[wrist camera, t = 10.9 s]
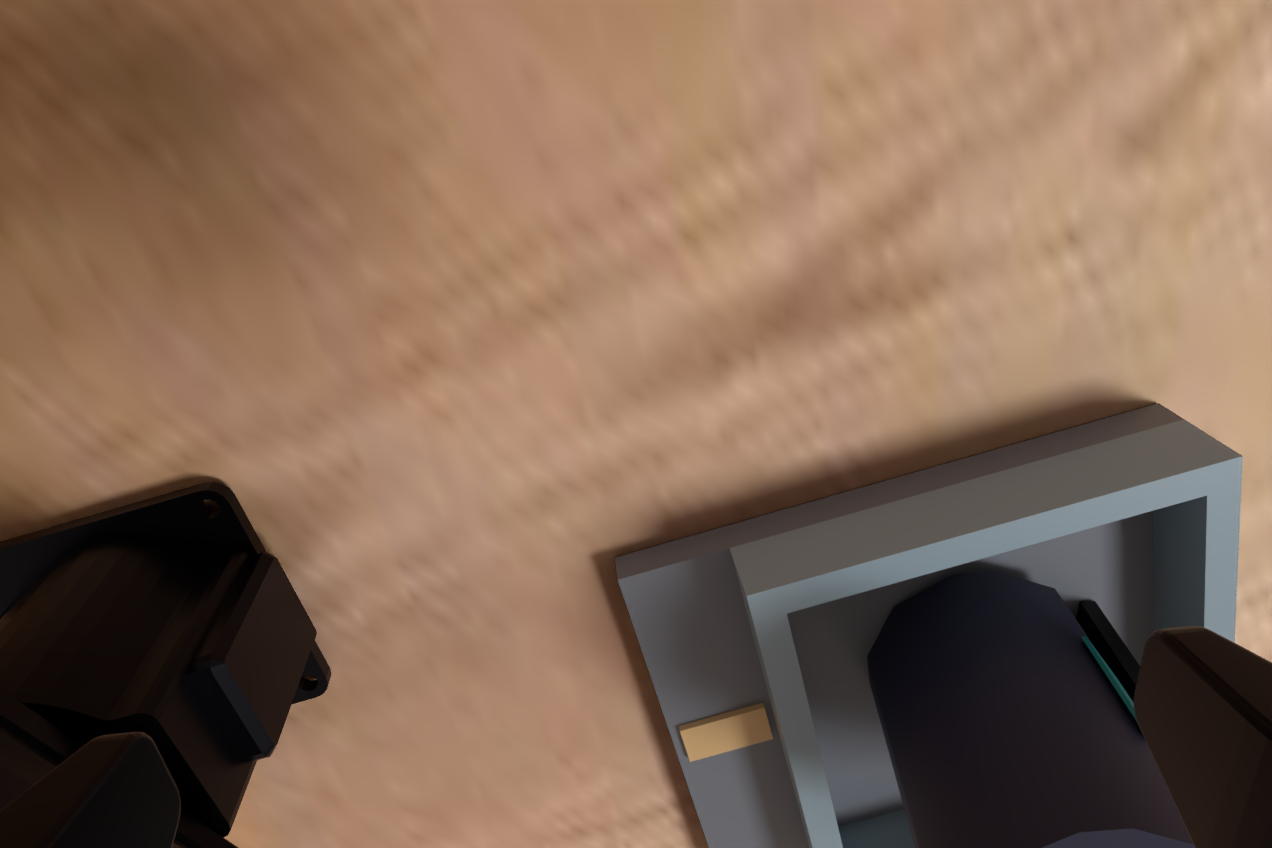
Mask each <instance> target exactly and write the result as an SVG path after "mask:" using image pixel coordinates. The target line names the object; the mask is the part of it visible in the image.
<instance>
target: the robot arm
mask: <svg viewBox="0 0 1272 848" xmlns="http://www.w3.org/2000/svg"><path fill="white" fill-rule="evenodd" d="M204 500H212V501H215V502H216V503H217V504H218V505H219V506H220V510H213V509H211V508H208V507H207V506H206V505H205V504H204ZM316 634H317V633H316V629H315V627H314V626H313V624H312V622H311V620H310V618H309V616H308V615H307V613H306V611H305V609H304V607H303V605H302V604H301V602H300V600H299V598H298V596H297V594H296V593H295V591H294V589H293V587H292V585H291V583H290V582H289V580H288V578H287V576H286V574H285V572H284V570H283V569H282V567H281V565H280V563H279V561H278V559H277V558H276V557H274V556H273V555H271V554H270V553H268V552H266V551H265V549H264V547H263V545H262V543H261V541H260V540H259V538H258V536H257V534H256V532H255V531H254V529H253V527H252V525H251V523H250V521H249V520H248V518H247V516H246V514H245V512H244V510H243V509H242V507H241V505H240V503H239V501H238V500H237V498H236V496H235V494H234V493H233V492H232V491H231V489H230V488H228V487H226V486H225V485H223V484H220V483H216V482H208V483H203V484H199V485H196V486H192V487H189V488H185V489H182V490H178V491H175V492H172V493H168V494H165V495H161V496H158V497H154V498H151V499H147V500H144V501H140V502H137V503H134V504H130V505H127V506H123V507H120V508H116V509H113V510H109V511H106V512H102V513H99V514H96V515H92V516H89V517H85V518H82V519H78V520H75V521H71V522H68V523H64V524H61V525H58V526H54V527H51V528H47V529H44V530H40V531H37V532H33V533H30V534H26V535H23V536H20V537H16V538H13V539H9V540H6V541H2V542H0V848H238V847H237V846H235V845H234V844H232V843H231V842H229V841H228V840H226V839H225V838H223V837H225V836H227V835H228V834H229V832H230V830H231V828H232V825H233V822H234V820H235V817H236V814H237V812H238V809H239V807H240V804H241V801H242V799H243V796H244V793H245V791H246V788H247V785H248V783H249V780H250V777H251V775H252V772H253V770H254V767H255V764H256V762H257V760H259V759H263V758H266V757H270V755H271V754H272V753H273V751H274V749H275V747H276V745H277V743H278V740H279V737H280V735H281V732H282V729H283V726H284V723H285V721H286V718H287V715H288V712H289V710H290V707H291V704H294V703H298V702H301V701H305V700H308V699H312V698H315V697H318V696H320V695H322V694H323V693H324V692H325V691H326V690H327V687H328V684H329V681H330V677H331V670H330V667H329V665H328V664H327V662H326V660H325V658H324V656H323V654H322V653H321V651H320V649H319V647H318V645H317V644H316V642H315V637H316ZM303 676H312V677H315V678H316V679H317V680H308V679H305V678H304V677H303ZM1133 700H1134V711H1135V716H1136V719H1137V722H1138V725H1139V727H1140V730H1141V732H1142V734H1143V736H1144V738H1145V741H1146V743H1147V745H1148V747H1149V749H1150V751H1151V753H1152V756H1153V758H1154V760H1155V762H1156V764H1157V766H1158V769H1159V771H1160V773H1161V775H1162V777H1163V779H1164V782H1165V784H1166V786H1167V788H1168V790H1169V792H1170V795H1171V797H1172V799H1173V801H1174V803H1175V805H1176V808H1177V810H1178V812H1179V814H1180V816H1181V818H1182V821H1183V823H1184V825H1185V827H1186V829H1187V831H1188V834H1189V836H1190V838H1191V840H1192V842H1193V844H1194V847H1195V848H1272V663H1271V662H1269V661H1268V660H1266V659H1264V658H1262V657H1260V656H1258V655H1256V654H1254V653H1253V652H1251V651H1249V650H1247V649H1245V648H1243V647H1241V646H1239V645H1238V644H1236V643H1234V642H1232V641H1230V640H1228V639H1226V638H1224V637H1222V636H1221V635H1219V634H1217V633H1215V632H1213V631H1211V630H1209V629H1207V628H1204V627H1200V626H1186V627H1176V628H1166V629H1158V630H1156V631H1153V632H1152V633H1151V634H1150V635H1149V636H1148V638H1147V640H1146V643H1145V647H1144V651H1143V656H1142V660H1141V665H1140V669H1139V674H1138V678H1137V683H1136V687H1135V692H1134V699H1133Z"/></svg>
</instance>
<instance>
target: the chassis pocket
mask: <svg viewBox="0 0 1272 848" xmlns="http://www.w3.org/2000/svg"><path fill="white" fill-rule="evenodd" d="M1242 458H1243V456H1241V455H1240V454H1238V453H1237V452H1235V451H1233V450H1232V449H1230V448H1229V447H1227V446H1226V445H1224V444H1222V443H1221V442H1219V441H1218V440H1216V439H1214V438H1213V437H1211V436H1210V435H1208V434H1207V433H1205V432H1203V431H1202V430H1200V429H1199V428H1197V427H1195V426H1194V425H1192V424H1191V423H1189V422H1187V421H1186V420H1184V419H1183V418H1181V417H1180V416H1178V415H1176V414H1175V413H1173V412H1172V411H1170V410H1168V409H1167V408H1165V407H1164V406H1162V405H1161V404H1159V403H1157V404H1154V405H1150V406H1147V407H1143V408H1140V409H1136V410H1132V411H1129V412H1125V413H1122V414H1118V415H1115V416H1111V417H1108V418H1104V419H1101V420H1097V421H1094V422H1090V423H1087V424H1083V425H1080V426H1076V427H1073V428H1069V429H1066V430H1062V431H1059V432H1055V433H1051V434H1048V435H1044V436H1041V437H1037V438H1034V439H1030V440H1027V441H1023V442H1020V443H1016V444H1013V445H1009V446H1006V447H1002V448H999V449H995V450H992V451H988V452H985V453H981V454H978V455H974V456H970V457H967V458H963V459H960V460H956V461H953V462H949V463H946V464H942V465H939V466H935V467H932V468H928V469H925V470H921V471H918V472H914V473H911V474H907V475H904V476H900V477H897V478H893V479H889V480H886V481H882V482H879V483H875V484H872V485H868V486H865V487H861V488H858V489H854V490H851V491H847V492H844V493H840V494H837V495H833V496H830V497H826V498H823V499H819V500H816V501H812V502H809V503H805V504H801V505H798V506H794V507H791V508H787V509H784V510H780V511H777V512H773V513H770V514H766V515H763V516H759V517H756V518H752V519H749V520H745V521H742V522H738V523H735V524H731V525H728V526H724V527H720V528H717V529H713V530H710V531H706V532H703V533H699V534H696V535H692V536H689V537H685V538H682V539H678V540H675V541H671V542H668V543H664V544H661V545H657V546H654V547H650V548H647V549H643V550H639V551H636V552H632V553H629V554H625V555H622V556H618V557H615V564H616V572H617V579H618V582H619V585H620V588H621V591H622V594H623V597H624V600H625V603H626V606H627V609H628V612H629V615H630V618H631V621H632V624H633V627H634V629H635V632H636V635H637V638H638V641H639V644H640V647H641V650H642V653H643V656H644V659H645V662H646V665H647V668H648V671H649V674H650V676H651V679H652V682H653V685H654V688H655V691H656V694H657V697H658V700H659V703H660V706H661V709H662V712H663V715H664V718H665V721H666V723H667V726H668V729H669V732H670V735H671V738H672V741H673V744H674V747H675V750H676V753H677V756H678V759H679V762H680V765H681V768H682V771H683V773H684V776H685V779H686V782H687V785H688V788H689V791H690V794H691V797H692V800H693V803H694V806H695V809H696V812H697V815H698V818H699V820H700V823H701V826H702V829H703V832H704V835H705V838H706V841H707V844H708V847H709V848H915V846H914V842H913V839H912V835H911V831H910V828H909V824H908V820H907V817H906V813H905V809H904V806H903V802H902V799H901V795H900V791H899V788H898V784H897V780H896V777H895V773H894V769H893V766H892V762H891V759H890V755H889V751H888V748H887V744H886V740H885V737H884V733H883V729H882V726H881V722H880V718H879V715H878V711H877V708H876V704H875V700H874V697H873V693H872V689H871V686H870V682H869V672H868V661H867V656H868V654H869V652H870V650H871V648H872V646H873V644H874V643H875V641H876V639H877V637H878V635H879V633H880V631H881V629H882V628H883V626H884V624H885V622H886V620H887V618H888V616H889V615H890V613H891V611H892V609H893V607H894V606H896V605H897V604H899V603H901V602H903V601H905V600H907V599H909V598H911V597H913V596H914V595H916V594H918V593H920V592H922V591H924V590H926V589H928V588H930V587H931V586H933V585H935V584H937V583H939V582H941V581H943V580H945V579H947V578H949V577H950V576H952V575H954V574H961V573H970V572H978V571H987V570H992V571H996V572H999V573H1003V574H1006V575H1010V576H1013V577H1017V578H1020V579H1024V580H1027V581H1031V582H1034V583H1038V584H1041V585H1045V586H1048V587H1052V588H1055V589H1056V591H1057V592H1058V594H1059V595H1060V597H1061V598H1062V600H1063V601H1064V603H1065V604H1066V605H1067V607H1068V608H1069V610H1070V611H1071V613H1072V614H1073V616H1074V617H1075V619H1076V616H1077V612H1078V607H1079V602H1080V601H1095V602H1096V603H1097V604H1098V606H1099V607H1100V609H1101V610H1102V612H1103V613H1104V615H1105V616H1106V617H1107V619H1108V620H1109V622H1110V623H1111V625H1112V626H1113V628H1114V629H1115V631H1116V632H1117V633H1118V635H1119V636H1120V638H1121V639H1122V641H1123V642H1124V644H1125V645H1126V647H1127V648H1128V649H1129V651H1130V652H1131V654H1132V655H1133V657H1134V658H1135V660H1136V661H1137V662H1138V664H1139V665H1141V660H1142V656H1143V651H1144V647H1145V643H1146V640H1147V638H1148V636H1149V635H1150V634H1151V633H1152V632H1153V631H1156V630H1158V629H1166V628H1176V627H1186V626H1200V627H1204V628H1207V629H1209V630H1211V631H1213V632H1215V633H1217V634H1219V635H1221V636H1222V637H1224V638H1226V639H1228V640H1230V641H1232V642H1235V619H1236V596H1237V573H1238V550H1239V527H1240V504H1241V481H1242Z"/></svg>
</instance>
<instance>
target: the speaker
mask: <svg viewBox="0 0 1272 848" xmlns="http://www.w3.org/2000/svg"><path fill="white" fill-rule="evenodd" d="M867 661H868V672H869V682H870V686H871V689H872V693H873V697H874V700H875V704H876V708H877V711H878V715H879V718H880V722H881V726H882V729H883V733H884V737H885V740H886V744H887V748H888V751H889V755H890V759H891V762H892V766H893V769H894V773H895V777H896V780H897V784H898V788H899V791H900V795H901V799H902V802H903V806H904V809H905V813H906V817H907V820H908V824H909V828H910V831H911V835H912V839H913V842H914V846H915V848H1195V847H1194V844H1193V842H1192V840H1191V838H1190V836H1189V834H1188V831H1187V829H1186V827H1185V825H1184V823H1183V821H1182V818H1181V816H1180V814H1179V812H1178V810H1177V808H1176V805H1175V803H1174V801H1173V799H1172V797H1171V795H1170V792H1169V790H1168V788H1167V786H1166V784H1165V782H1164V779H1163V777H1162V775H1161V773H1160V771H1159V769H1158V766H1157V764H1156V762H1155V760H1154V758H1153V756H1152V753H1151V751H1150V749H1149V747H1148V745H1147V743H1146V741H1145V738H1144V736H1143V734H1142V732H1141V730H1140V727H1139V725H1138V722H1137V719H1136V716H1135V711H1134V700H1133V699H1134V692H1135V687H1136V683H1137V678H1138V674H1139V669H1140V665H1139V664H1138V662H1137V661H1136V660H1135V658H1134V657H1133V655H1132V654H1131V652H1130V651H1129V649H1128V648H1127V647H1126V645H1125V644H1124V642H1123V641H1122V639H1121V638H1120V636H1119V635H1118V633H1117V632H1116V631H1115V629H1114V628H1113V626H1112V625H1111V623H1110V622H1109V620H1108V619H1107V617H1106V616H1105V615H1104V613H1103V612H1102V610H1101V609H1100V607H1099V606H1098V604H1097V603H1096V602H1095V601H1080V602H1079V607H1078V612H1077V616H1076V619H1075V617H1074V616H1073V614H1072V613H1071V611H1070V610H1069V608H1068V607H1067V605H1066V604H1065V603H1064V601H1063V600H1062V598H1061V597H1060V595H1059V594H1058V592H1057V591H1056V589H1055V588H1052V587H1048V586H1045V585H1041V584H1038V583H1034V582H1031V581H1027V580H1024V579H1020V578H1017V577H1013V576H1010V575H1006V574H1003V573H999V572H996V571H992V570H987V571H978V572H970V573H961V574H954V575H952V576H950V577H949V578H947V579H945V580H943V581H941V582H939V583H937V584H935V585H933V586H931V587H930V588H928V589H926V590H924V591H922V592H920V593H918V594H916V595H914V596H913V597H911V598H909V599H907V600H905V601H903V602H901V603H899V604H897V605H896V606H894V607H893V609H892V611H891V613H890V615H889V616H888V618H887V620H886V622H885V624H884V626H883V628H882V629H881V631H880V633H879V635H878V637H877V639H876V641H875V643H874V644H873V646H872V648H871V650H870V652H869V654H868V656H867Z"/></svg>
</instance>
